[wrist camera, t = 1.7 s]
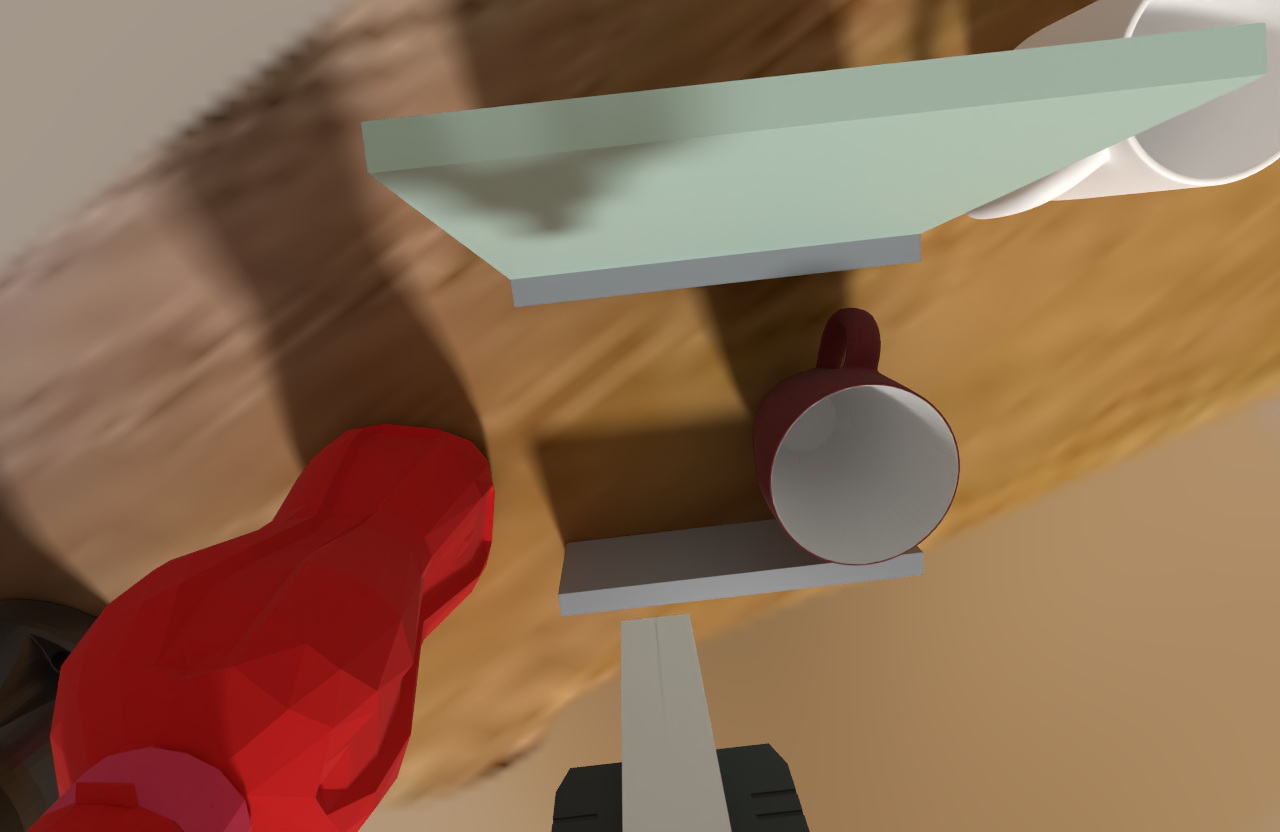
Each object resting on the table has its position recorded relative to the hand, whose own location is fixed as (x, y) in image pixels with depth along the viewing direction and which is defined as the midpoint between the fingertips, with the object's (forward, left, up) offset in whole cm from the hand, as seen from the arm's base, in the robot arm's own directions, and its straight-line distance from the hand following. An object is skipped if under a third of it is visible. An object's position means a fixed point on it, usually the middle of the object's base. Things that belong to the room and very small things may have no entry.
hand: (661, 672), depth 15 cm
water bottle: (-13, -4, -24) cm, 27 cm away
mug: (+9, 0, -24) cm, 25 cm away
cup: (+21, +12, -24) cm, 34 cm away
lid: (+4, +10, -9) cm, 14 cm away
